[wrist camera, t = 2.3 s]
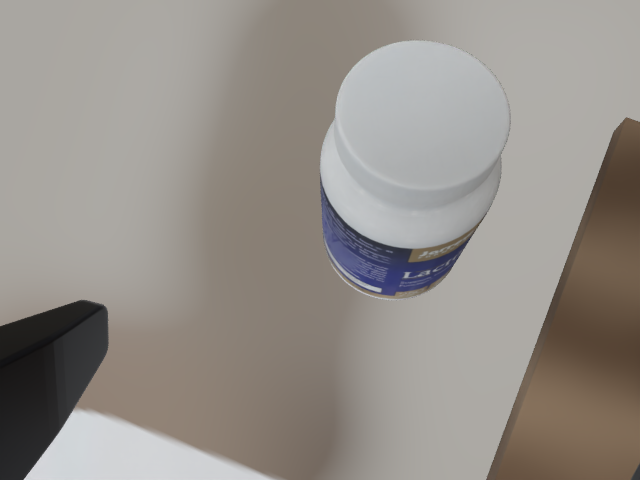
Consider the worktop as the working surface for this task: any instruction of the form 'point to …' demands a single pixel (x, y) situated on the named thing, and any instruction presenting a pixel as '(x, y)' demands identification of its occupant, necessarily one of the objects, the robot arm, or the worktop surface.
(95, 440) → the worktop surface
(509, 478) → the nut base
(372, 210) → the pill bottle
